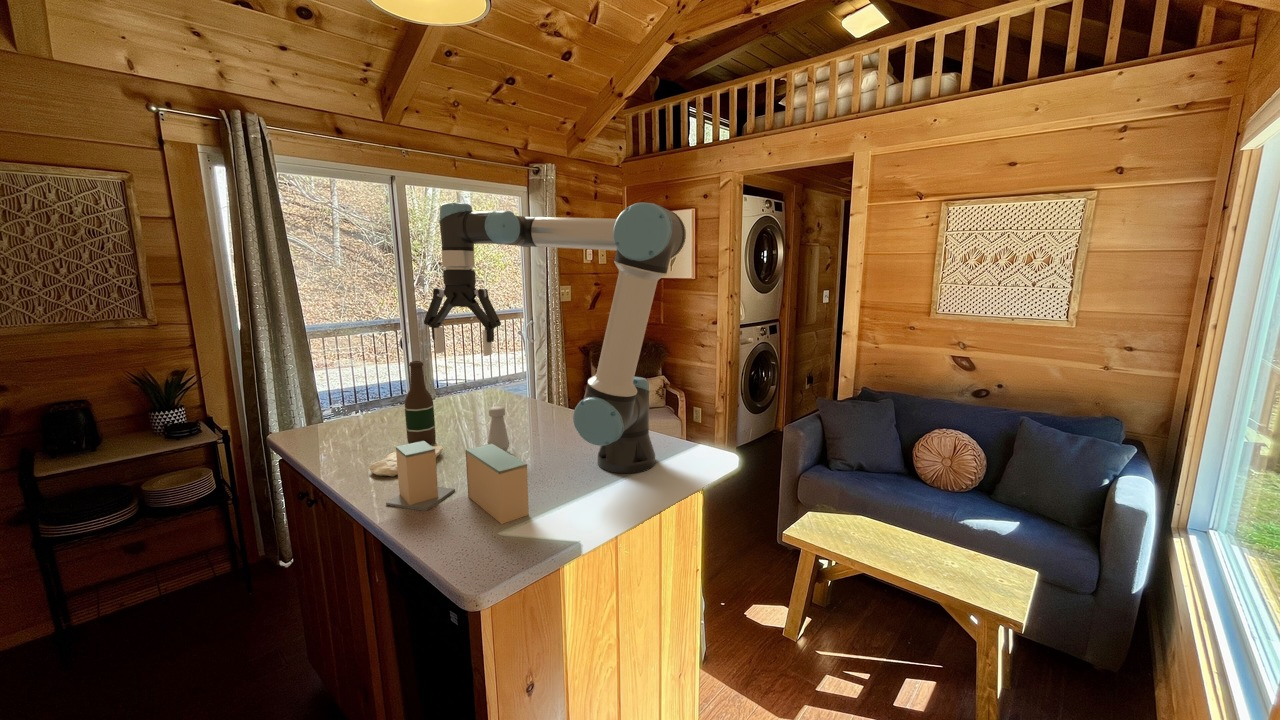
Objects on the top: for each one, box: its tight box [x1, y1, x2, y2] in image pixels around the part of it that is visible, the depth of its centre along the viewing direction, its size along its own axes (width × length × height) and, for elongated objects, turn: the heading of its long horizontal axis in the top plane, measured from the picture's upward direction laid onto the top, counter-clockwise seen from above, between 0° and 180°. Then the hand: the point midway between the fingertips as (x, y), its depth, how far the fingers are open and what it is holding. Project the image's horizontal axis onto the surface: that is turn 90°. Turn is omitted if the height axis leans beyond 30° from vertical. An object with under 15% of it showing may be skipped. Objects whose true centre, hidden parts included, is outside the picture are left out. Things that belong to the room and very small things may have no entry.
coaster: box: [385, 486, 456, 512], centre depth 113 cm, size 10×10×1 cm
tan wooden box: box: [465, 443, 530, 525], centre depth 109 cm, size 16×6×11 cm, turn 41°
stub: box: [395, 441, 439, 505], centre depth 112 cm, size 7×6×11 cm
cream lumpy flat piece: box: [368, 445, 444, 477], centre depth 132 cm, size 4×13×20 cm
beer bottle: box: [404, 360, 437, 445], centre depth 147 cm, size 8×8×24 cm
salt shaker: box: [487, 405, 510, 453], centre depth 140 cm, size 6×6×13 cm
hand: (463, 354), depth 130 cm, fingers open, 13 cm apart
